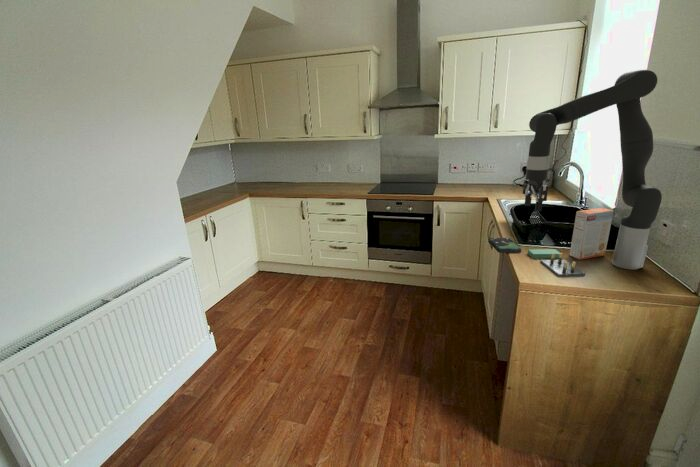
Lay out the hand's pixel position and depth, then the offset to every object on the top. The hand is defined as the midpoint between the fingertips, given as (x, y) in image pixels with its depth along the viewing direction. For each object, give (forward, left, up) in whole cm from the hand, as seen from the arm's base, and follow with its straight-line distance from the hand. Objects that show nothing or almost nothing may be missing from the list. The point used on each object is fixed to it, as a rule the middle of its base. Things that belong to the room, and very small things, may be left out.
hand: (532, 208), depth 136 cm
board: (-13, -9, -25) cm, 30 cm away
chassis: (-13, +5, -25) cm, 28 cm away
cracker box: (-31, -8, -25) cm, 40 cm away
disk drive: (0, -21, -26) cm, 33 cm away
